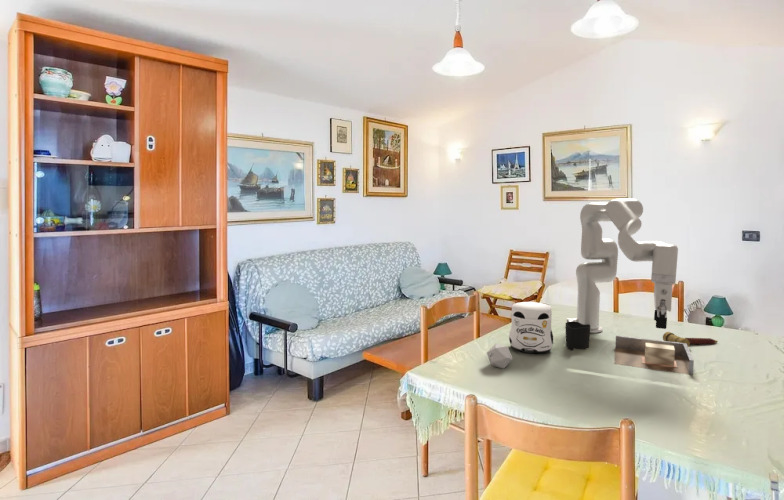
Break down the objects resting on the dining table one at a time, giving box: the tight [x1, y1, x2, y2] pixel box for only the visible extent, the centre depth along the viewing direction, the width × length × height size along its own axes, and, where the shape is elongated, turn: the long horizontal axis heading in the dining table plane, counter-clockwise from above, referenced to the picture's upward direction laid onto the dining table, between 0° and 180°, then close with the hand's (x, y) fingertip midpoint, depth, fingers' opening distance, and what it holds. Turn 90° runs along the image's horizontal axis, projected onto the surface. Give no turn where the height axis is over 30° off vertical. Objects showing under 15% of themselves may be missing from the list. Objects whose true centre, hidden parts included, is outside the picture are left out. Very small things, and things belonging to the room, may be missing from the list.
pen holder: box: [565, 321, 591, 351], centre depth 184 cm, size 9×9×10 cm
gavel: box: [662, 331, 718, 348], centre depth 187 cm, size 21×5×10 cm
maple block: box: [645, 343, 675, 366], centre depth 164 cm, size 9×5×6 cm, turn 62°
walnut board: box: [614, 348, 693, 376], centre depth 167 cm, size 24×20×1 cm
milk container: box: [508, 301, 554, 354], centre depth 183 cm, size 17×17×18 cm
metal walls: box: [614, 335, 695, 376], centre depth 167 cm, size 24×20×5 cm
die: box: [486, 343, 513, 369], centre depth 166 cm, size 8×9×10 cm
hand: (659, 324), depth 163 cm, fingers open, 9 cm apart
